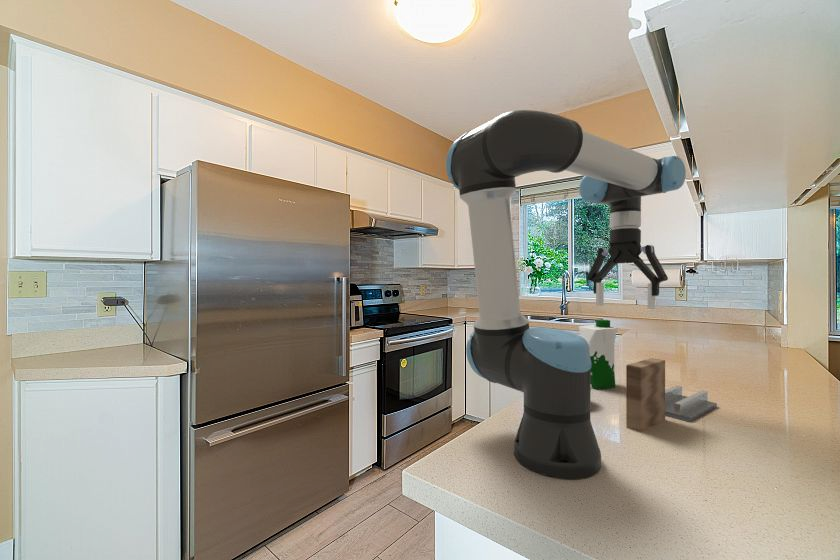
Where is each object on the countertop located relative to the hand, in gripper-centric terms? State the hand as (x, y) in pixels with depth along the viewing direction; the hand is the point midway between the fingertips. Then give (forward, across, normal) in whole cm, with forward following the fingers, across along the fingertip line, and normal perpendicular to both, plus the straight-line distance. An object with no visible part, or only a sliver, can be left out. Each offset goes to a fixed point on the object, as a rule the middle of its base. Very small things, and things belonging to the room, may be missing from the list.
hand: (624, 307), depth 104 cm
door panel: (+25, -11, +13) cm, 31 cm away
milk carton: (+25, +11, -8) cm, 29 cm away
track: (+25, -12, -4) cm, 28 cm away
